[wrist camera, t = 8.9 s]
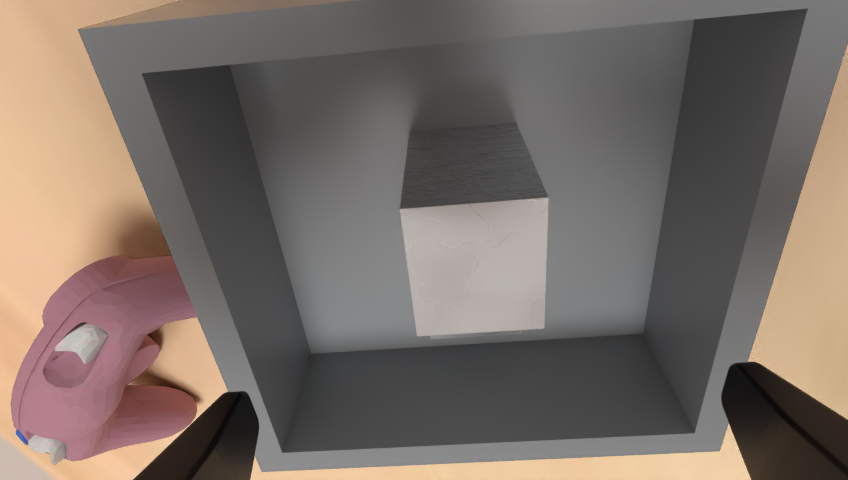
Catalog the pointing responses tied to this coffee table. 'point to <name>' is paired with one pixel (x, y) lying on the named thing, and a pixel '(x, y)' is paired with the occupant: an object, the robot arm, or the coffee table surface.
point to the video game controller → (102, 362)
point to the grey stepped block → (474, 232)
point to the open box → (559, 172)
